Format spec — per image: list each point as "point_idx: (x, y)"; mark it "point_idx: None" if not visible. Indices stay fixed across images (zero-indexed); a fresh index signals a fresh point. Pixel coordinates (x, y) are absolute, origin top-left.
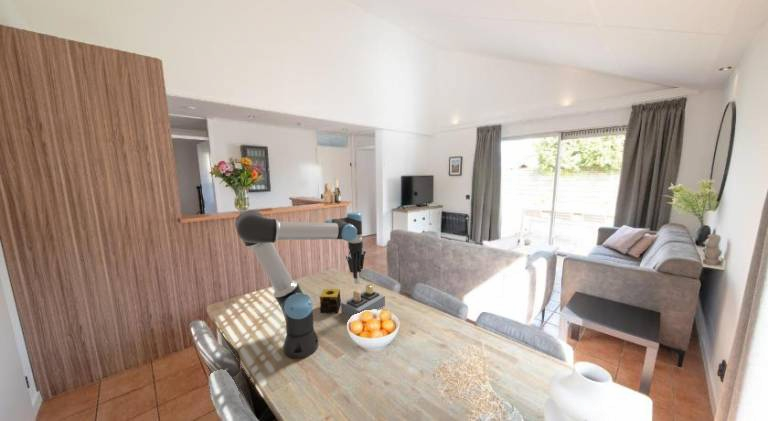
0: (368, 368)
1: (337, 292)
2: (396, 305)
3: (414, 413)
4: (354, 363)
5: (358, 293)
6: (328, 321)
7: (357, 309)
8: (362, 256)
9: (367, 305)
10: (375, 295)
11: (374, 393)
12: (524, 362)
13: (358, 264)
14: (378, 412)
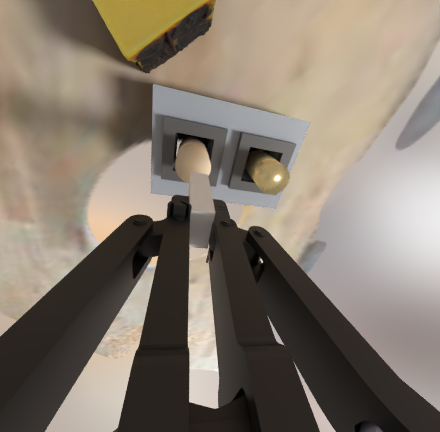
0: (54, 275)
1: (169, 17)
2: (275, 216)
3: None
4: (37, 253)
5: (187, 180)
6: (81, 76)
7: (155, 182)
8: (324, 401)
9: None
10: (259, 191)
11: (28, 302)
12: (207, 360)
13: (213, 304)
14: (13, 316)
